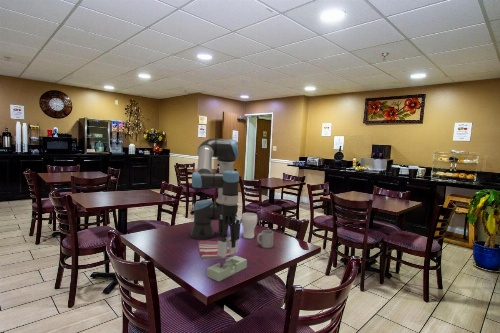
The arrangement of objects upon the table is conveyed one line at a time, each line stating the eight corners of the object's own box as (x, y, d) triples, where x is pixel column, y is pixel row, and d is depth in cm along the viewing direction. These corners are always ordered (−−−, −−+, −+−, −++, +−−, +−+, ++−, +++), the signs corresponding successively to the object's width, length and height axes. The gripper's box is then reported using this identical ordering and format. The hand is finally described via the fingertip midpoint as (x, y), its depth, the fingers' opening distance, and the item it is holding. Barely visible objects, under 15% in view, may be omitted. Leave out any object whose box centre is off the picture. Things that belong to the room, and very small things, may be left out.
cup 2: (273, 248, 168) (274, 233, 167) (256, 247, 168) (257, 233, 167) (272, 244, 175) (273, 230, 174) (256, 243, 175) (257, 229, 174)
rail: (218, 281, 124) (218, 272, 124) (206, 276, 129) (207, 267, 129) (246, 267, 140) (246, 259, 140) (235, 263, 145) (235, 255, 144)
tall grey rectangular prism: (223, 257, 128) (223, 242, 128) (217, 255, 131) (218, 240, 130) (237, 251, 136) (238, 237, 136) (231, 249, 139) (232, 235, 138)
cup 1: (259, 237, 186) (260, 215, 185) (246, 240, 180) (247, 217, 179) (250, 233, 195) (251, 211, 194) (237, 235, 189) (238, 213, 188)
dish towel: (225, 243, 175) (225, 239, 174) (232, 258, 152) (233, 253, 152) (197, 244, 170) (197, 240, 170) (201, 260, 148) (201, 255, 147)
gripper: (211, 202, 134) (210, 250, 136) (238, 207, 124) (236, 259, 126) (222, 200, 140) (221, 246, 142) (248, 205, 130) (246, 255, 132)
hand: (228, 252), depth 134 cm, fingers closed on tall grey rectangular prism, 4 cm apart
